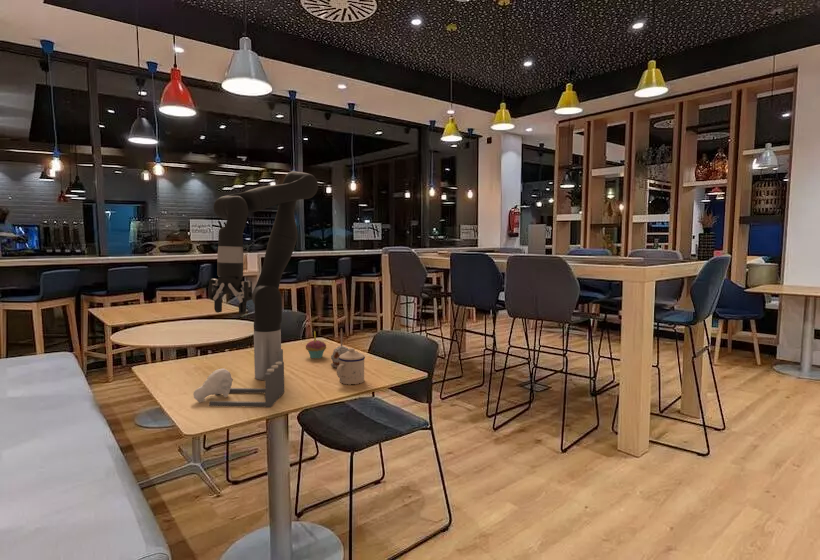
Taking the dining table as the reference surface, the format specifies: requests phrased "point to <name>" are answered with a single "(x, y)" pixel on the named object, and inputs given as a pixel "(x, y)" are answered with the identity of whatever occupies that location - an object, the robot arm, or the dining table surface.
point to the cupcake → (316, 348)
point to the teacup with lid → (351, 367)
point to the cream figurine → (214, 385)
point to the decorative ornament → (338, 353)
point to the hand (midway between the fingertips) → (230, 313)
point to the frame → (261, 389)
